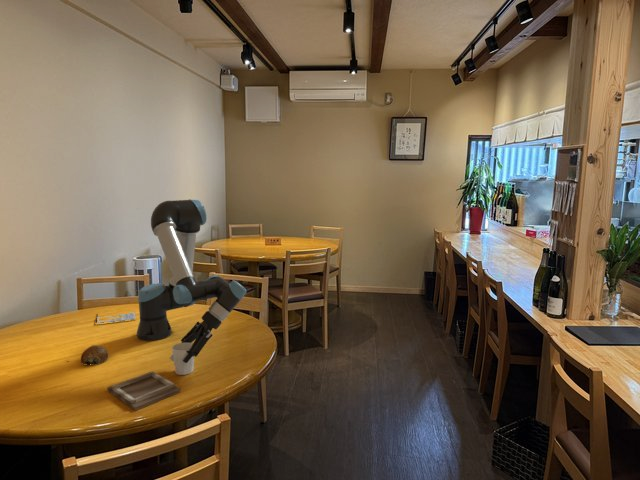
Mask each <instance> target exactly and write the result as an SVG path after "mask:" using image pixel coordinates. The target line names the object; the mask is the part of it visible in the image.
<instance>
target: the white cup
mask: <svg viewBox="0 0 640 480" xmlns="http://www.w3.org/2000/svg"><path fill="white" fill-rule="evenodd" d="M192 345H193V342H192V343H187V342H186V343H181V342H180V343H176V344H174V345H173V346H172V347H171V349H172V354H173V359H174V361H173V366H174V372H175V374H176V375H179V376H185V375H189V374H191V373H193V372H194V369H195V367H194V366H195V364H194V363H195V356H192V358H191V359H190V360H189V361H188V362H187V364H186V365H185V366H184V367H183V369H182V370H181V371H180V370H179V369H177V368H176V367H175V365H176V364H177V363H178V362H179V360H180V359H181V358H182V357H183V356H184V354H185V353H186V351H189V350H190V348H191V346H192Z"/></svg>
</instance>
